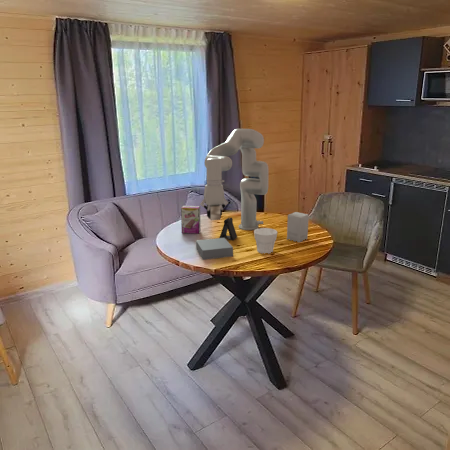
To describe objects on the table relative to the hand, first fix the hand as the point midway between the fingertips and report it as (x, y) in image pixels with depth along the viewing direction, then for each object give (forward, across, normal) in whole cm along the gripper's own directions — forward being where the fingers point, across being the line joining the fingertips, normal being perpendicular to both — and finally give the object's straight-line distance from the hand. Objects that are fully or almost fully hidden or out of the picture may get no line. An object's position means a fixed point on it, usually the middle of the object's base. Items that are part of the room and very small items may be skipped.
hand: (214, 216), depth 211 cm
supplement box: (+20, -52, -8) cm, 56 cm away
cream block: (+1, 0, 0) cm, 1 cm away
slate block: (+20, 0, 0) cm, 20 cm away
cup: (+20, -27, +5) cm, 34 cm away
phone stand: (+20, -14, -21) cm, 32 cm away
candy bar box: (+20, +5, -37) cm, 42 cm away
